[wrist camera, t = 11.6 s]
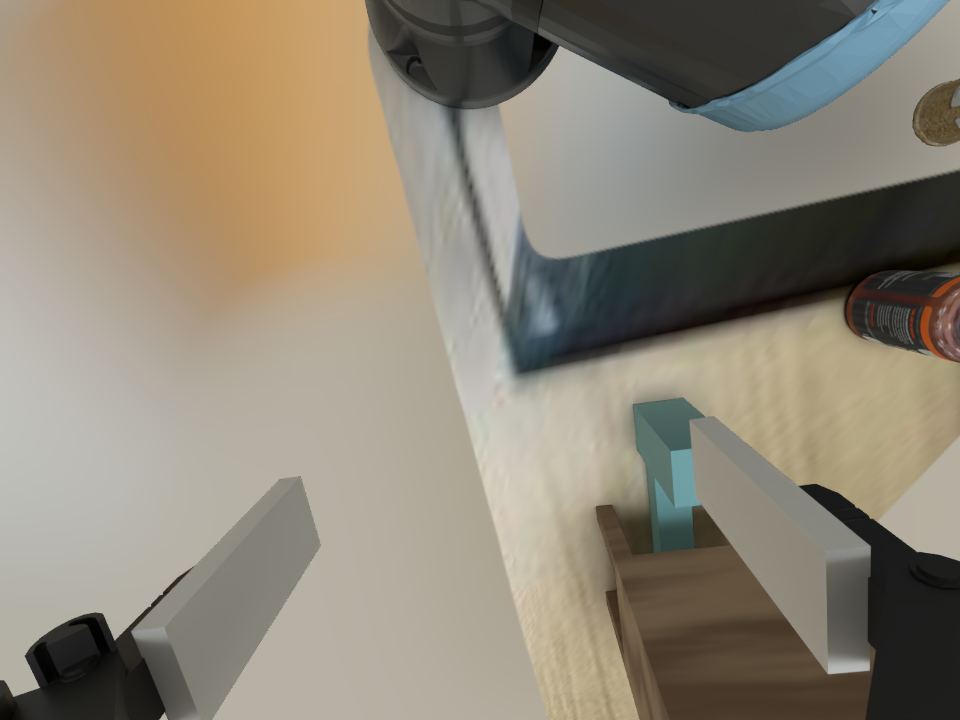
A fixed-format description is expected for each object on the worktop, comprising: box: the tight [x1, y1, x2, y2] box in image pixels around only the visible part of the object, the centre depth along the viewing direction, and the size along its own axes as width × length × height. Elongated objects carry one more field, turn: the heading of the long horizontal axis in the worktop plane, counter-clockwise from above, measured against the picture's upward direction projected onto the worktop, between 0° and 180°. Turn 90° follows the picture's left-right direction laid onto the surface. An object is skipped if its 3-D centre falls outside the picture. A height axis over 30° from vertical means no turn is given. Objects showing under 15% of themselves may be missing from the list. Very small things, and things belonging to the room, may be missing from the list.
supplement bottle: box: [846, 270, 960, 363], centre depth 33 cm, size 6×6×11 cm
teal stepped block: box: [633, 398, 705, 553], centre depth 40 cm, size 23×6×10 cm, turn 9°
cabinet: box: [596, 505, 876, 720], centre depth 35 cm, size 13×13×22 cm
